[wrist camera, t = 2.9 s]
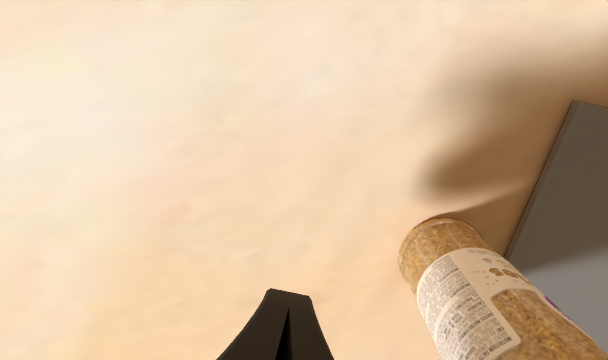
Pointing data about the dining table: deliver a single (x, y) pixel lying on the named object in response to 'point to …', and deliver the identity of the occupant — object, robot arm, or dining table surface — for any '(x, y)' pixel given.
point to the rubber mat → (571, 223)
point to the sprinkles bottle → (484, 300)
